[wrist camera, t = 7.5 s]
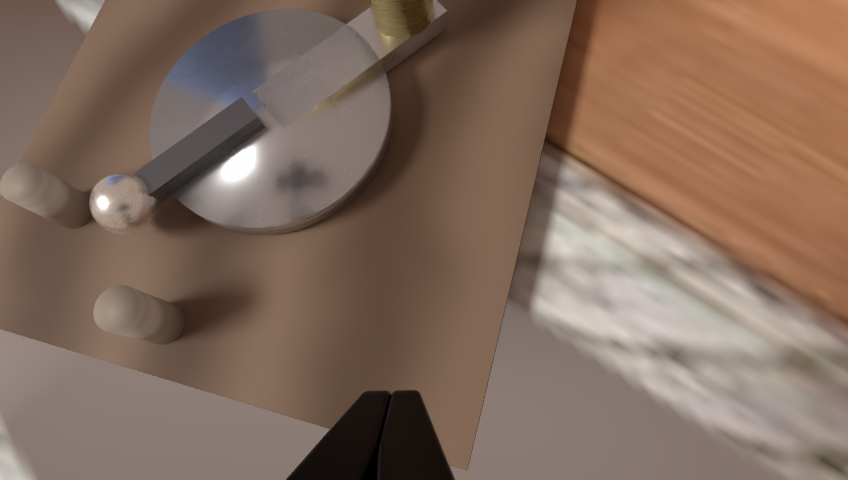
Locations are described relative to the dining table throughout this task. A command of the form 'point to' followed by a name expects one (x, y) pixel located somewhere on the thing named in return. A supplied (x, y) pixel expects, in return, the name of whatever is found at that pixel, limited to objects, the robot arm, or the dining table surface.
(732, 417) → the dining table surface
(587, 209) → the dining table surface
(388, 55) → the dial
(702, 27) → the dining table surface
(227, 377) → the walnut board
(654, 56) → the dining table surface
